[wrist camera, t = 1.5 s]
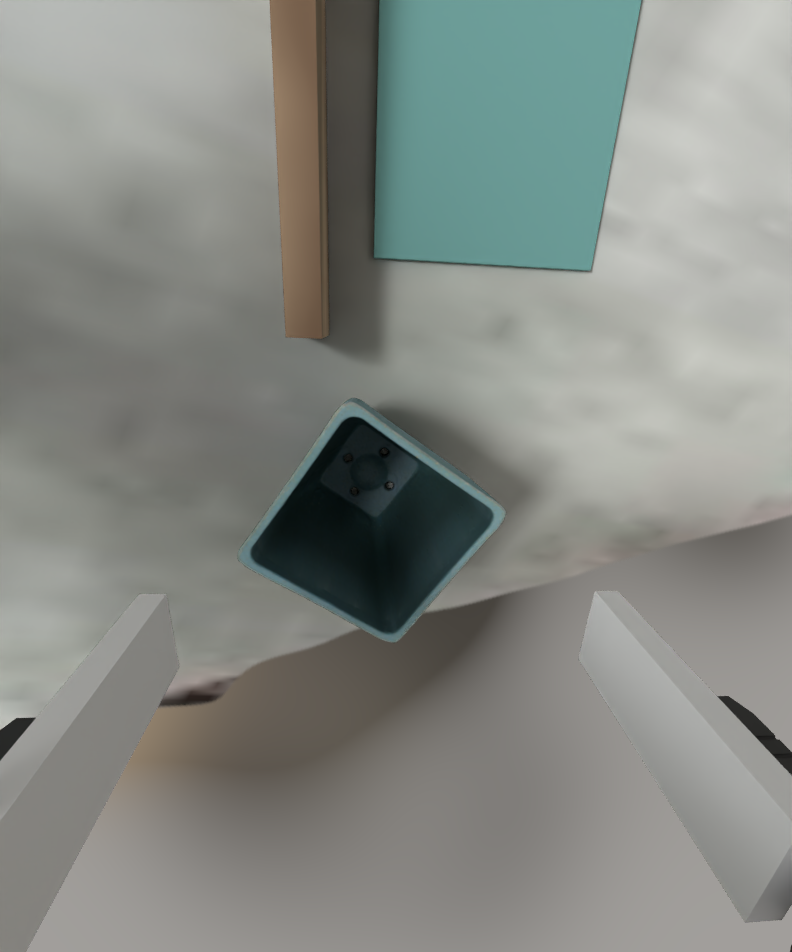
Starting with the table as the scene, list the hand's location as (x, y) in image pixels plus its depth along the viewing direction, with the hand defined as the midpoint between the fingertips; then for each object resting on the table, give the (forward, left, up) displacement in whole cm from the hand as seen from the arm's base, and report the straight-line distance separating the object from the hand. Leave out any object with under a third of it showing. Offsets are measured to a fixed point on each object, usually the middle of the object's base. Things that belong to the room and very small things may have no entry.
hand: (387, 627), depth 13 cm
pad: (+6, +18, -15) cm, 24 cm away
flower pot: (0, 0, -15) cm, 15 cm away
